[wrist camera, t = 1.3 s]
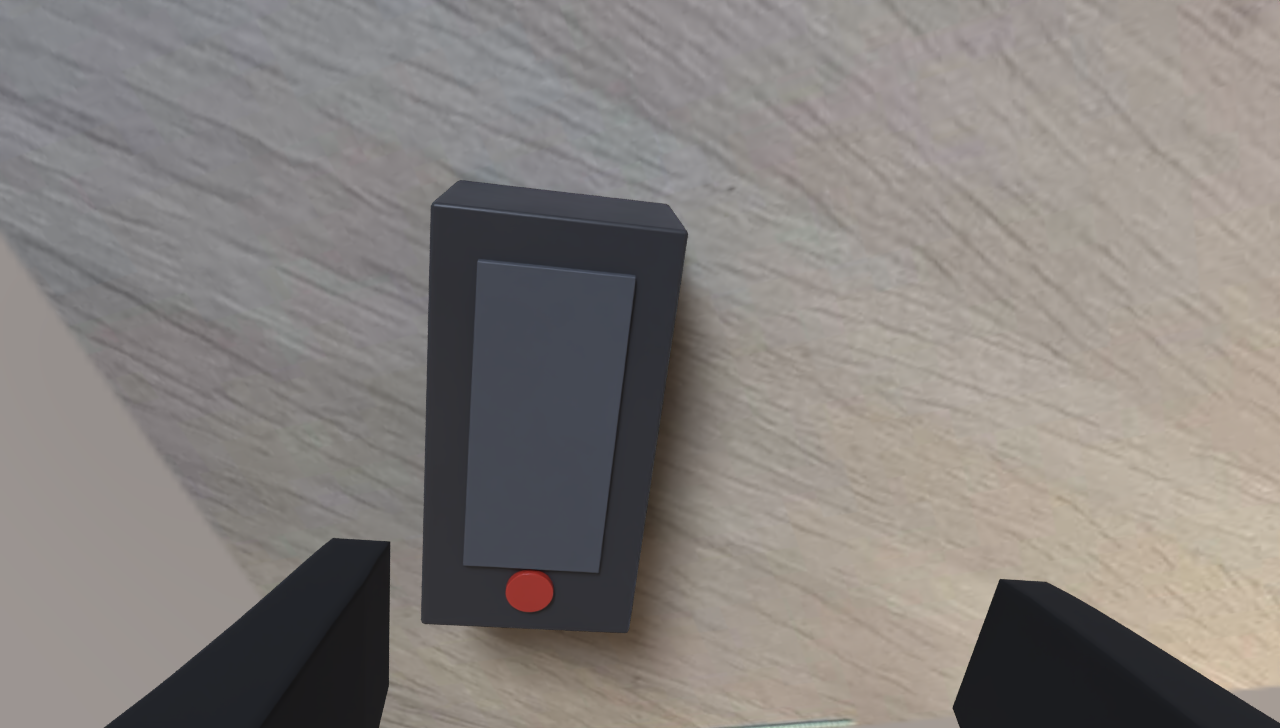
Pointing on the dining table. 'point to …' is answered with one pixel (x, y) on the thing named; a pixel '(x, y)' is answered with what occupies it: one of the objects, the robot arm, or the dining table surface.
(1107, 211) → the dining table surface
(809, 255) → the dining table surface
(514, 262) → the remote
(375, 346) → the dining table surface
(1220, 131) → the dining table surface
